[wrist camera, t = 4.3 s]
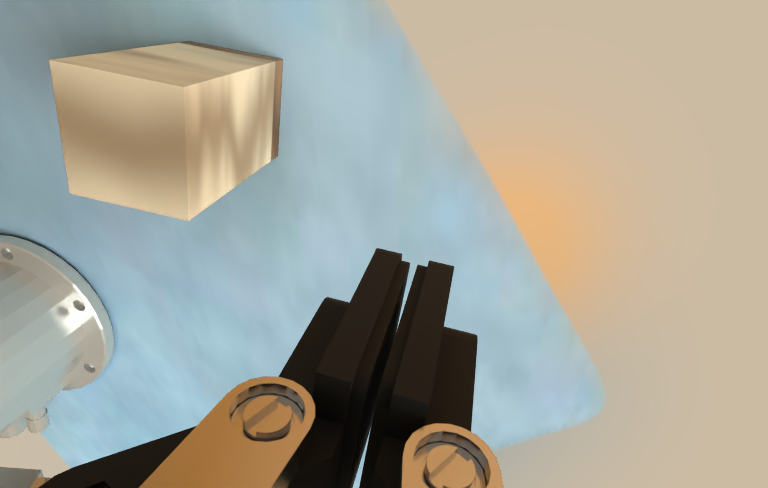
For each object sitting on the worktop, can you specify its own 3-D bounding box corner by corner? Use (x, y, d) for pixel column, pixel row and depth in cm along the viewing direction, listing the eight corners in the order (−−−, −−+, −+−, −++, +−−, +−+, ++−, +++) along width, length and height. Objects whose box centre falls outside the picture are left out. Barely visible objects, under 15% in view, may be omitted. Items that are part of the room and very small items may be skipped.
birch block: (277, 155, 27) (188, 220, 19) (191, 137, 27) (69, 193, 19) (283, 59, 24) (183, 87, 16) (189, 41, 25) (48, 59, 17)
